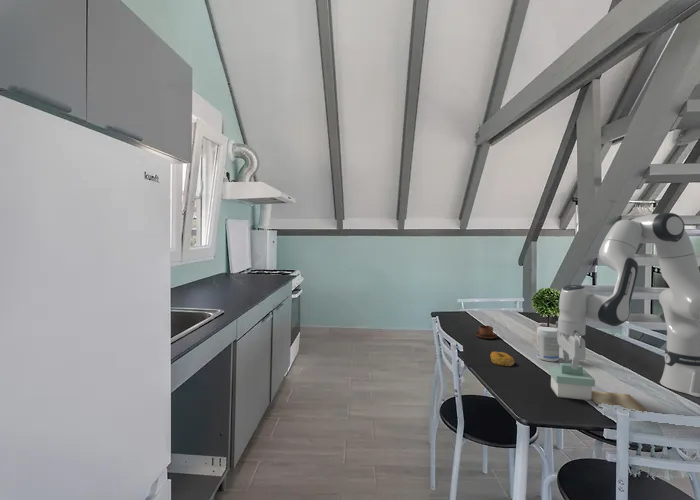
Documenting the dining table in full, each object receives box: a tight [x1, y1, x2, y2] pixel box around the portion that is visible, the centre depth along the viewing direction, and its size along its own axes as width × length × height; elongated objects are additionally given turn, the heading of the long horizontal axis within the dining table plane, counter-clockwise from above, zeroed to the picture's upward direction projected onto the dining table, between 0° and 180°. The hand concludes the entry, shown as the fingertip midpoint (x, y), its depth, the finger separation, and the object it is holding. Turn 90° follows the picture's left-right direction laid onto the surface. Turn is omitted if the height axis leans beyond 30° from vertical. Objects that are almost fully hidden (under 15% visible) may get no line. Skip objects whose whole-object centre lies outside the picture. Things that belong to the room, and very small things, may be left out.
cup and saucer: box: [475, 325, 498, 340], centre depth 214 cm, size 12×12×6 cm
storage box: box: [550, 375, 593, 401], centre depth 137 cm, size 11×9×7 cm
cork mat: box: [591, 390, 650, 412], centre depth 131 cm, size 15×14×1 cm
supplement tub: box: [536, 326, 560, 362], centre depth 176 cm, size 10×10×15 cm
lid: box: [548, 362, 596, 388], centre depth 137 cm, size 12×10×6 cm
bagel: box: [489, 351, 515, 367], centre depth 170 cm, size 10×11×5 cm
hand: (569, 364), depth 137 cm, fingers open, 8 cm apart
